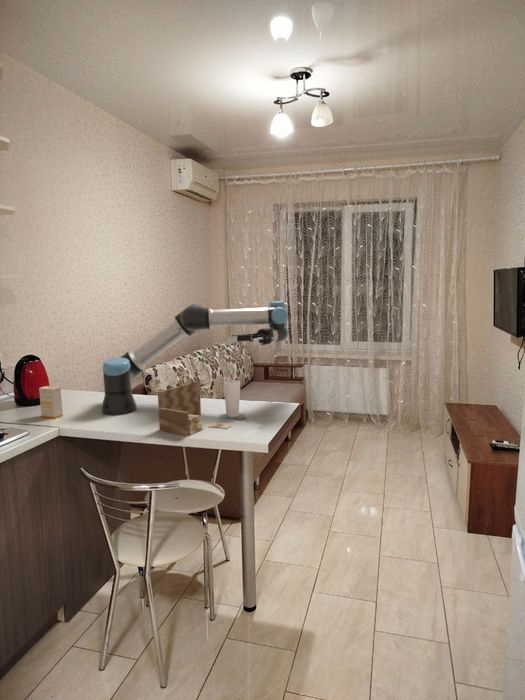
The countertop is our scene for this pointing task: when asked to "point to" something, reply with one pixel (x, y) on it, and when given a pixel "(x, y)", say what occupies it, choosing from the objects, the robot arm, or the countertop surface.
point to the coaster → (240, 417)
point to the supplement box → (51, 401)
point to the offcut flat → (219, 426)
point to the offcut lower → (195, 428)
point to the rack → (178, 407)
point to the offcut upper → (193, 419)
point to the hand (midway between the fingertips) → (240, 341)
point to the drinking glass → (232, 398)
